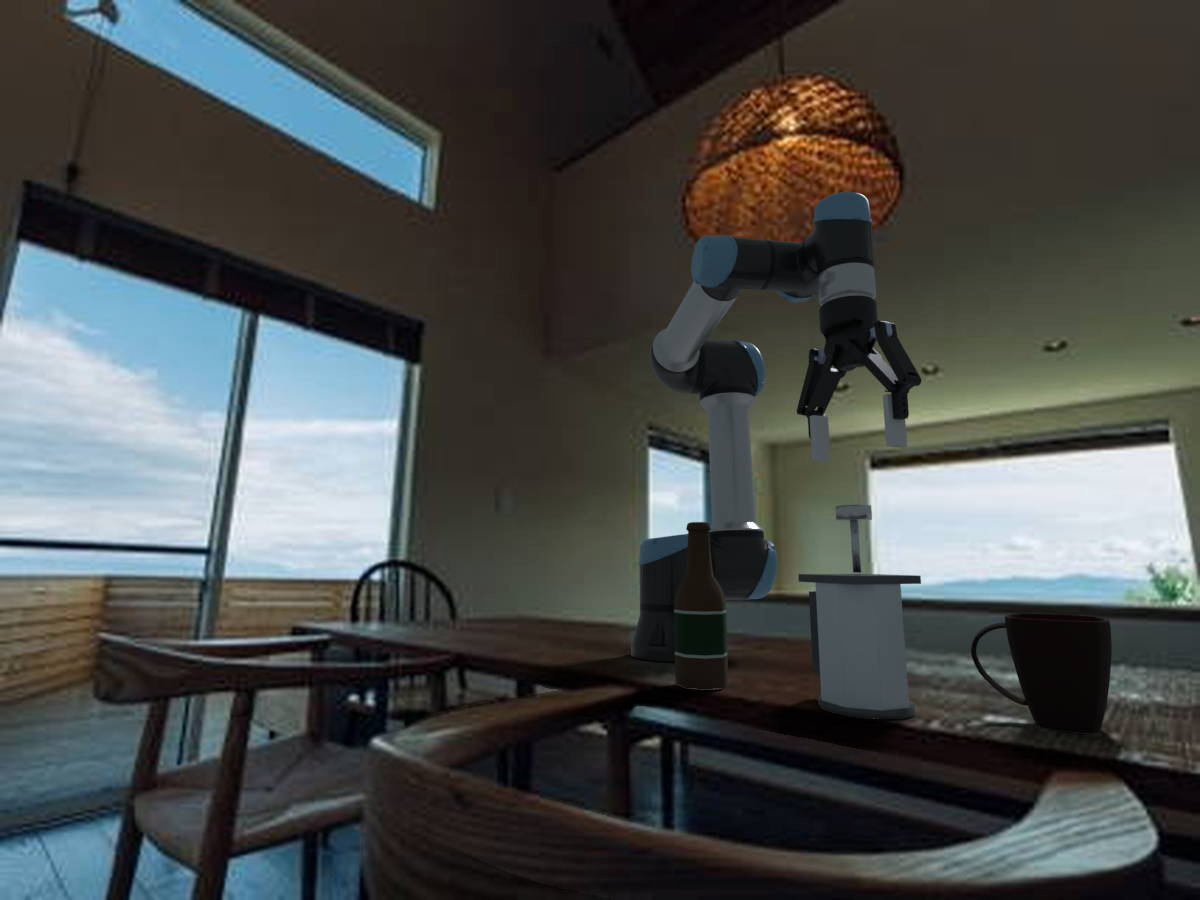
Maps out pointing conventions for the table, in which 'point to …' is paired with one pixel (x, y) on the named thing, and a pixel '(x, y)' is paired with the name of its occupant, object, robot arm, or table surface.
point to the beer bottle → (700, 618)
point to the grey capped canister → (860, 644)
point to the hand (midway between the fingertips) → (856, 454)
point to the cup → (1058, 668)
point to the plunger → (854, 527)
